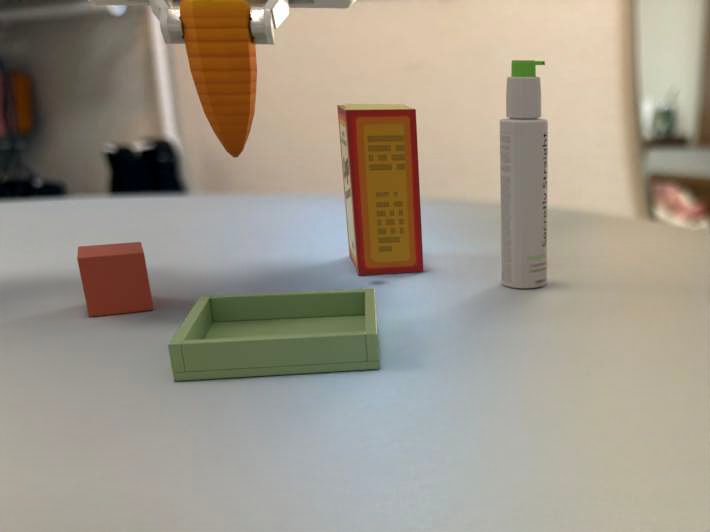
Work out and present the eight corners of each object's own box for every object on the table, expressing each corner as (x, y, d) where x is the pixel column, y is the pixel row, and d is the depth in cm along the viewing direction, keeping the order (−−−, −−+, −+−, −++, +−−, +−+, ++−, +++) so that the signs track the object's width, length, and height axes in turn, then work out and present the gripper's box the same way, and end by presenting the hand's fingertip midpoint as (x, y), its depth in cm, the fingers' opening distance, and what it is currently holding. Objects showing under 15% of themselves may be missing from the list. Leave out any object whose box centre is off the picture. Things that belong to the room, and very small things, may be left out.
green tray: (173, 381, 57) (167, 344, 56) (205, 327, 68) (200, 295, 67) (379, 369, 59) (377, 333, 58) (376, 318, 71) (374, 288, 70)
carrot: (241, 162, 62) (211, -72, 56) (186, 159, 64) (151, -69, 58) (282, 155, 66) (258, -63, 61) (230, 152, 68) (201, -60, 62)
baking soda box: (349, 255, 93) (336, 101, 87) (408, 252, 95) (400, 100, 89) (358, 275, 85) (345, 106, 79) (423, 271, 87) (415, 105, 81)
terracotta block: (88, 317, 71) (76, 257, 69) (89, 302, 75) (77, 246, 73) (153, 310, 73) (143, 252, 71) (150, 296, 77) (141, 241, 75)
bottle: (525, 291, 79) (524, 60, 72) (492, 283, 82) (488, 60, 75) (556, 283, 82) (558, 60, 75) (523, 275, 85) (522, 60, 78)
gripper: (61, -143, 62) (45, -1, 56) (349, -130, 65) (359, 3, 60) (90, -65, 67) (78, 70, 62) (354, -58, 71) (363, 70, 66)
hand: (219, 37), depth 61 cm, fingers closed on carrot, 5 cm apart
